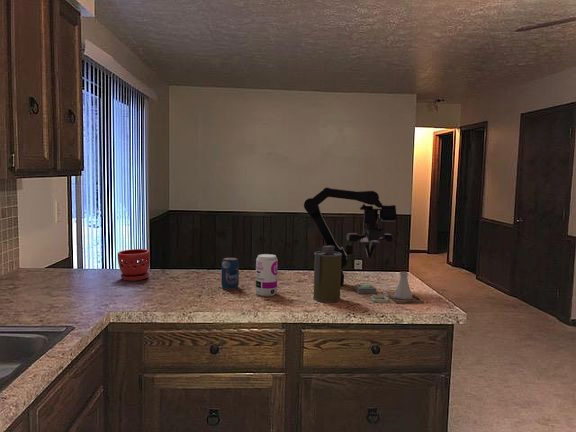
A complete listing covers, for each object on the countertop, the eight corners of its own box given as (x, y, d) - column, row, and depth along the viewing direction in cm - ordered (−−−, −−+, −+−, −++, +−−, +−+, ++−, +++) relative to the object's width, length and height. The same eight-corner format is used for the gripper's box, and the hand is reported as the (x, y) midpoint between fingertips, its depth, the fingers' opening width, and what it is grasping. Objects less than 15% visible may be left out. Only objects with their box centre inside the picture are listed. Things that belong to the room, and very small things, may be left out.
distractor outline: (374, 302, 178) (374, 300, 178) (369, 297, 184) (369, 295, 184) (389, 302, 179) (390, 300, 179) (384, 297, 185) (384, 295, 185)
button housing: (358, 293, 190) (359, 288, 190) (354, 289, 197) (354, 284, 197) (376, 293, 191) (376, 288, 191) (371, 289, 198) (371, 284, 198)
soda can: (227, 290, 190) (228, 260, 189) (218, 287, 195) (218, 258, 194) (242, 288, 194) (242, 258, 193) (232, 285, 200) (232, 256, 198)
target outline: (396, 303, 177) (396, 300, 177) (388, 296, 187) (388, 294, 187) (423, 303, 178) (423, 300, 178) (413, 296, 188) (413, 293, 188)
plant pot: (137, 274, 216) (137, 247, 215) (156, 278, 208) (156, 250, 207) (111, 278, 205) (111, 251, 204) (130, 283, 198) (130, 254, 197)
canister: (325, 293, 189) (326, 243, 187) (346, 299, 181) (348, 246, 179) (306, 298, 181) (307, 245, 179) (327, 304, 174) (329, 249, 172)
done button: (361, 291, 192) (361, 286, 192) (359, 289, 196) (359, 284, 196) (371, 291, 192) (371, 286, 192) (368, 289, 196) (368, 284, 196)
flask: (413, 301, 181) (414, 274, 180) (393, 299, 182) (394, 273, 182) (412, 296, 188) (413, 271, 187) (393, 295, 190) (394, 269, 189)
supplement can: (280, 292, 188) (281, 255, 187) (270, 297, 181) (271, 258, 180) (262, 290, 192) (262, 253, 190) (251, 295, 184) (252, 256, 183)
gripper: (352, 222, 192) (350, 261, 194) (398, 223, 194) (396, 261, 195) (346, 219, 203) (345, 256, 205) (390, 220, 205) (388, 256, 206)
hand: (369, 257), depth 202 cm, fingers closed
